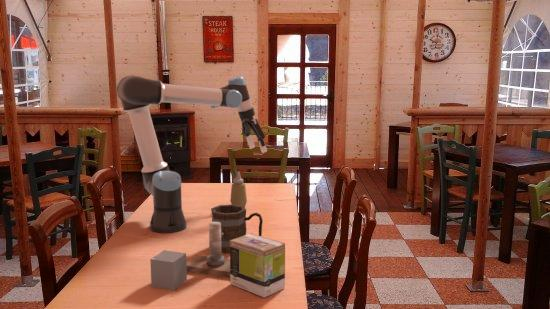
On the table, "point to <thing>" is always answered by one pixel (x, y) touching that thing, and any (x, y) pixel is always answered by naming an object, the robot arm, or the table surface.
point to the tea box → (257, 264)
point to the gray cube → (168, 270)
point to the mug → (232, 223)
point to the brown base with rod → (211, 256)
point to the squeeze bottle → (238, 192)
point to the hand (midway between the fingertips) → (258, 150)
